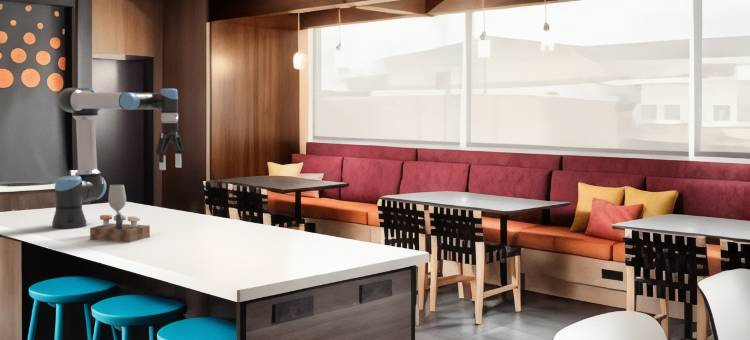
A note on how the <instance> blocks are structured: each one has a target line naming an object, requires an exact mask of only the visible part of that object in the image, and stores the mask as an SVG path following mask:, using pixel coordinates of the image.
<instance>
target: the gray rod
mask: <svg viewBox="0 0 750 340" xmlns="http://www.w3.org/2000/svg"><path fill="white" fill-rule="evenodd" d="M115 216H116V220H115V224H116V229H122V213H121V211H119V212H117V213H116V214H115Z"/></svg>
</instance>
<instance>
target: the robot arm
mask: <svg viewBox="0 0 750 340" xmlns="http://www.w3.org/2000/svg"><path fill="white" fill-rule="evenodd" d="M57 102H58V105H59V107H60V108H61V110H63V111H64V112H67V113H72V114H71V115H72V117H73V119H75V127H76V145H77V167H78V170H77V171H76V172H75V174H73V175H65V176H64V175H63V176H61V177H57V178H56V179H55V181H54V195H55V196H54V197H55V201H54V202H55V212H54V216H53V220H52V222H51V225H52V228H53V229H54V228H55V229H75V228H83V227H86V226H87V219H86V217H85V214H84V211H83V203H85V202H89V201H90V202H93V201H96V200H99V199H101V198H103V196H104V195H105V194H106V191H107V182H106V180H105V178H104V177H103V176H102V174H101V173H102V172H101V171H100V170H99V169H98V157H97V156H98V155H97V142H96V141H97V137H96V119H97V118H98V116H99V114H98V113H99V111H100V110H130V111H133V110H135V111H136V110H160V112H161V113H160V120H161V121H160V122H161V131H162V132H163V133H159V137H158V142H157V147H156V151H155V154H156V155H157V156H158V157H159V158H158V159H159V160H158V162H159V163H158V164H159V170H161V171H166V170H167V169H166V164H167V163H166V155H165V154H166V151H167V149H168V146H169V145H170V144H171V145H172V146H173V149H174V151H175V155H174V157H175V158H174V160H175V163H174V164H175V168H180V169H182V154H184V153H185V149H184V144H183V142H182V138H181V132H178V131H179V122H178V121H179V110H178V109H179V108H178V107H179V94H178V90H177V88H161V89H160V92H131V91H130V92H128V91H127V92H114V91H113V92H111V91H109V92H104V91H103V92H99V91H98V90H96V89H95V88H90V87H68V88H67V87H66V88H65V89H63V90H61V91H60V93H59V95H58V98H57Z"/></svg>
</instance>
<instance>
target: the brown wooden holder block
mask: <svg viewBox="0 0 750 340" xmlns="http://www.w3.org/2000/svg"><path fill="white" fill-rule="evenodd" d="M150 228H151V227H150V225H149V224H148V225H146V224H137V228H131V223H130V224H128V223H123V227H122V229H116V223H111V222H109V226H108V227H104V226H103V224H102V225H97V226H93V227H89V235H90V236H89V237H90V238H89V240H93V241H108V242H122V243H123V242H125V243H126V242H127V243H132V242H133V243H134V242H137V241H139V240H140V241H141V240H143V239H144V240H145V239H148V238H150V237H151V236H150V235H151V231H150Z"/></svg>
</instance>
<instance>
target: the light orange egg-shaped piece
mask: <svg viewBox="0 0 750 340" xmlns="http://www.w3.org/2000/svg"><path fill="white" fill-rule="evenodd" d="M99 220H100V221H101V220H102V222H103V223H102V225H103V226H104V227H108V226H109V224H110V220H113V215H112V214H100V215H99Z"/></svg>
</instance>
